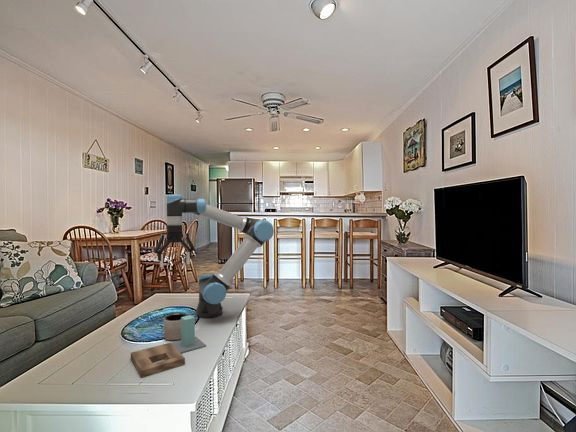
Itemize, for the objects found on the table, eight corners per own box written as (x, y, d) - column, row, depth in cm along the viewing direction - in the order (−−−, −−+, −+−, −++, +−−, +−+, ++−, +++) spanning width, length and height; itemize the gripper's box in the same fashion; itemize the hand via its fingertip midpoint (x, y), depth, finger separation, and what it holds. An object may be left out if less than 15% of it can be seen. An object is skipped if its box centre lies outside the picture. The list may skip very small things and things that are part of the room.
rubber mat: (195, 337, 149) (195, 336, 149) (206, 346, 140) (206, 345, 140) (170, 344, 142) (170, 343, 142) (178, 354, 133) (178, 352, 133)
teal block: (191, 341, 144) (190, 315, 144) (194, 344, 141) (194, 317, 140) (181, 343, 141) (181, 317, 141) (184, 347, 138) (184, 320, 138)
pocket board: (170, 348, 138) (170, 342, 138) (184, 364, 124) (184, 358, 124) (130, 358, 129) (130, 352, 129) (141, 377, 114) (141, 370, 114)
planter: (158, 338, 148) (158, 318, 148) (176, 330, 158) (176, 311, 158) (175, 343, 143) (175, 322, 143) (192, 334, 153) (192, 315, 153)
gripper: (195, 223, 173) (195, 262, 173) (146, 225, 157) (147, 267, 158) (200, 224, 167) (201, 263, 167) (150, 225, 151) (151, 269, 152)
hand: (175, 265), depth 163 cm, fingers open, 13 cm apart
